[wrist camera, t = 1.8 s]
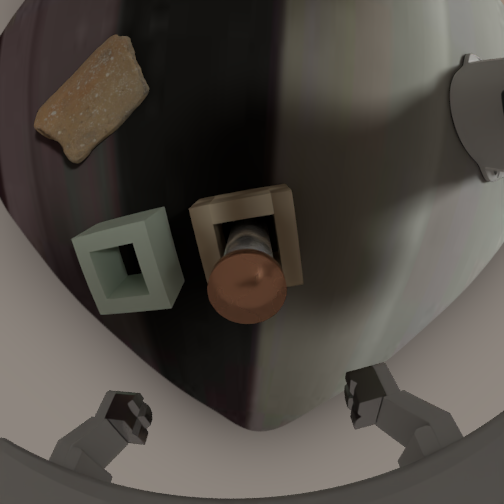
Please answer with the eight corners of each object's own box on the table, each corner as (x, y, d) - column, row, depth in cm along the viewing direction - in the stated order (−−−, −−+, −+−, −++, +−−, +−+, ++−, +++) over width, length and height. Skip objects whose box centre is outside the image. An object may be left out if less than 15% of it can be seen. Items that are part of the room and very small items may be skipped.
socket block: (164, 206, 28) (144, 220, 23) (184, 281, 31) (171, 308, 26) (98, 223, 29) (71, 238, 23) (121, 289, 32) (100, 314, 26)
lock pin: (268, 205, 28) (281, 248, 16) (276, 249, 30) (290, 317, 18) (221, 213, 29) (198, 261, 16) (231, 257, 30) (217, 328, 18)
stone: (41, 112, 24) (26, 111, 21) (128, 31, 21) (117, 22, 18) (71, 174, 27) (55, 178, 24) (168, 94, 24) (158, 89, 21)
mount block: (285, 183, 27) (291, 190, 23) (296, 263, 30) (303, 284, 26) (199, 198, 28) (188, 208, 23) (217, 276, 31) (211, 298, 26)
